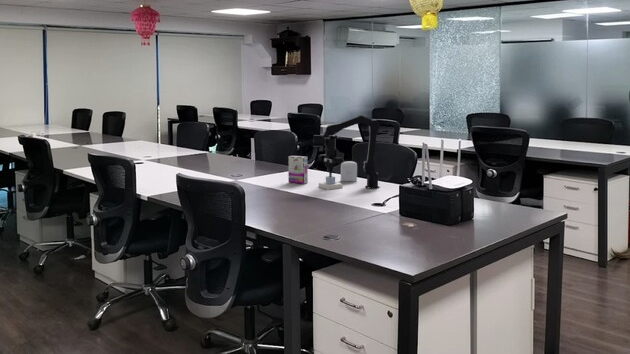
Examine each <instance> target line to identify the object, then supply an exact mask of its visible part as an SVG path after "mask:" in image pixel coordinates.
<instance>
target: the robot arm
mask: <svg viewBox="0 0 630 354" xmlns="http://www.w3.org/2000/svg"><path fill="white" fill-rule="evenodd" d="M360 123H362V124H364V125H366V126H368V132H369V138H368V139H369V140H368V149H367V157H366V160H365V161H363V167H362V169H363V170H364V173H365V174H366V175H367V178H366V185H365V186H364V187H365V188H367V187H369V188H368V189H371V188H372V189H377V188H376V187H380V186H379V173H378V171H376V169H375V168H376V167H375V154H376V153H375V151H376V142H377V135H378V132H379V130H380V125H381V124H380V121H378V120H377V119H375V118H373V119H371V118H368V117H366V116H364V115H362V114H359V115H358V116H355V117H352V118H349V119H346V120H345V121H342V122H339V123H332V124H328V125H327V126H326V127H325V132H323V134H320V135H318V134H313V138H312V139H313V140H312V147H313V148H316V147H317V148H320V147H322V148H323V147H324V146H325V148H324V151H325V153H324V154H318V155H317V160H319V161H322V160H323V164H324V165H325V167H326V170H327V171H328V174H329V173H330V174H331V173H333V171H334V167H335V165H336V164H341V163H344V162H345V159H344V156H345V153H344V152H341V151H339V150H338V148H336V143H337V142H336V141H337V140H339V139H340V138H339V136H338V135H337V133H339V132H340V131H342V130H344V129H346V128H349V127H351V126H355V125H357V124H360Z"/></svg>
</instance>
